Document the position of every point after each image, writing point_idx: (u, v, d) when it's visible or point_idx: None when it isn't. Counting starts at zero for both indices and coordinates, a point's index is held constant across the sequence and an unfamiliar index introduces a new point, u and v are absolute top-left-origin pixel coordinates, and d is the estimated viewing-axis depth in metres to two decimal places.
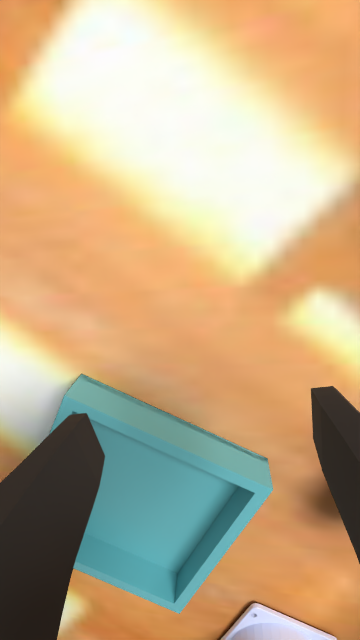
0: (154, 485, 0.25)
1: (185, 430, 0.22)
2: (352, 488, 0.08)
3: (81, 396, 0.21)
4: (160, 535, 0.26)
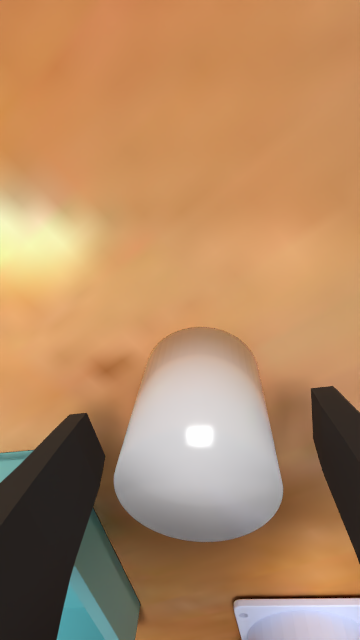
0: None
1: None
2: (352, 487, 0.08)
3: None
4: None
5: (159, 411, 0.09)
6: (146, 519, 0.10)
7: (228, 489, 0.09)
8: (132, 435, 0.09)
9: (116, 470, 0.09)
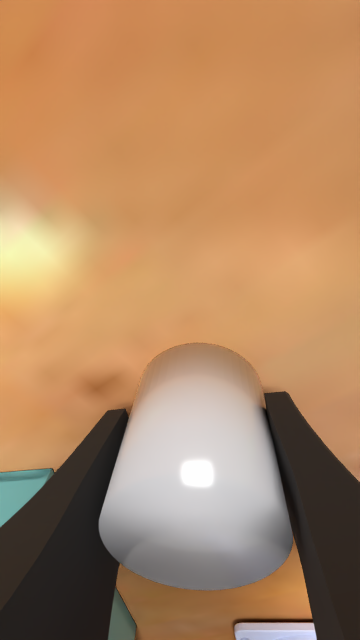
0: None
1: None
2: (290, 491, 0.08)
3: None
4: None
5: (150, 447, 0.08)
6: (137, 565, 0.09)
7: (229, 537, 0.08)
8: (120, 476, 0.08)
9: (101, 515, 0.08)
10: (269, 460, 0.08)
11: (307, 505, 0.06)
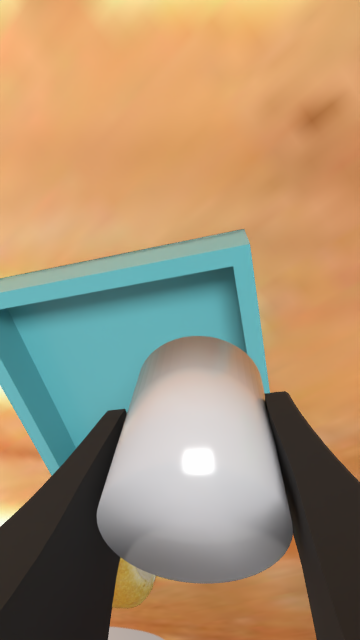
0: None
1: (117, 259, 0.16)
2: (291, 491, 0.08)
3: None
4: None
5: (155, 436, 0.08)
6: (131, 555, 0.08)
7: (228, 530, 0.08)
8: (123, 463, 0.07)
9: (101, 503, 0.08)
10: (272, 455, 0.08)
11: (307, 505, 0.06)
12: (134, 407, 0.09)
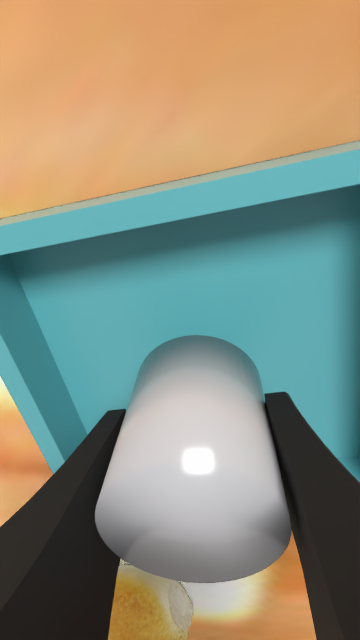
0: (220, 334, 0.13)
1: (188, 180, 0.10)
2: (290, 491, 0.08)
3: None
4: None
5: (154, 435, 0.08)
6: (128, 554, 0.08)
7: (227, 530, 0.08)
8: (122, 461, 0.07)
9: (99, 501, 0.07)
10: (272, 455, 0.08)
11: (307, 505, 0.06)
12: (133, 405, 0.09)
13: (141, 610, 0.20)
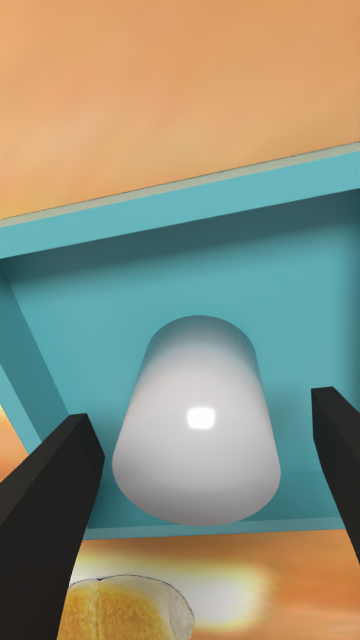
0: None
1: (186, 181, 0.10)
2: (351, 487, 0.08)
3: None
4: (292, 421, 0.14)
5: (164, 392, 0.09)
6: (140, 500, 0.10)
7: (226, 474, 0.09)
8: (136, 415, 0.09)
9: (116, 448, 0.09)
10: (264, 412, 0.09)
11: None
12: (143, 374, 0.11)
13: (140, 623, 0.20)
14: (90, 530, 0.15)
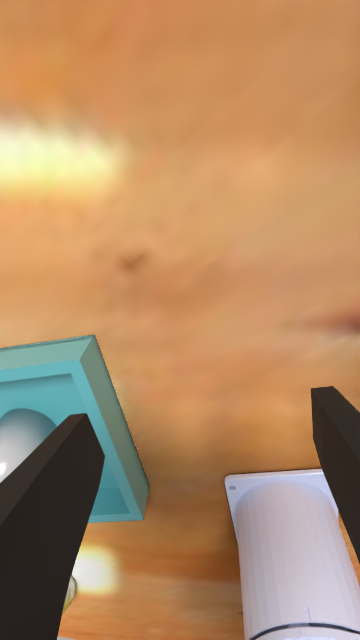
0: None
1: None
2: (352, 488, 0.08)
3: None
4: None
5: None
6: None
7: None
8: None
9: None
10: None
11: None
12: None
13: None
14: None
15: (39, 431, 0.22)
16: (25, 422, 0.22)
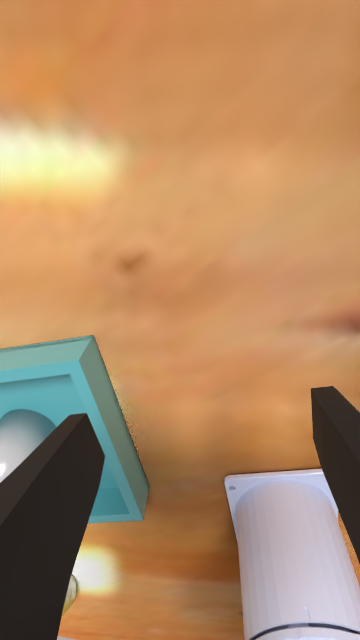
0: None
1: None
2: (352, 487, 0.08)
3: None
4: None
5: None
6: None
7: None
8: None
9: None
10: None
11: None
12: None
13: None
14: None
15: (38, 431, 0.23)
16: (24, 423, 0.22)
